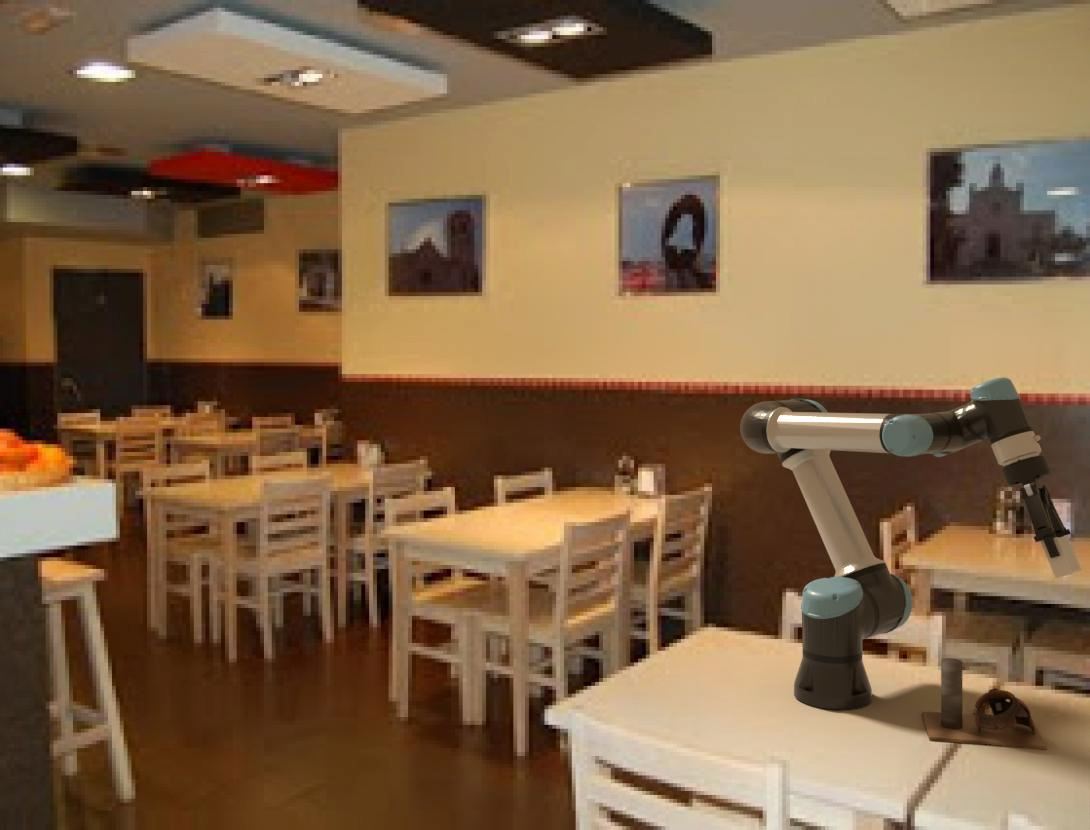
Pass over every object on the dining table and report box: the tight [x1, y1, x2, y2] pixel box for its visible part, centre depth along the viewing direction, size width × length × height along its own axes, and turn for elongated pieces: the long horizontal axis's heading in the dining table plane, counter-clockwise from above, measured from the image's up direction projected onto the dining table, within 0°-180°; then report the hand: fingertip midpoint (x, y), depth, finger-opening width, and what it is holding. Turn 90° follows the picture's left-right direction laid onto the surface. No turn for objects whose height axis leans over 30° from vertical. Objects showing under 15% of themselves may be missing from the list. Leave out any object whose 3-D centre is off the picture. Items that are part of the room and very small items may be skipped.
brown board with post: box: [921, 657, 1048, 751], centre depth 176 cm, size 19×13×13 cm
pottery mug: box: [974, 687, 1036, 735], centre depth 175 cm, size 12×10×8 cm
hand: (1069, 574), depth 170 cm, fingers open, 13 cm apart
